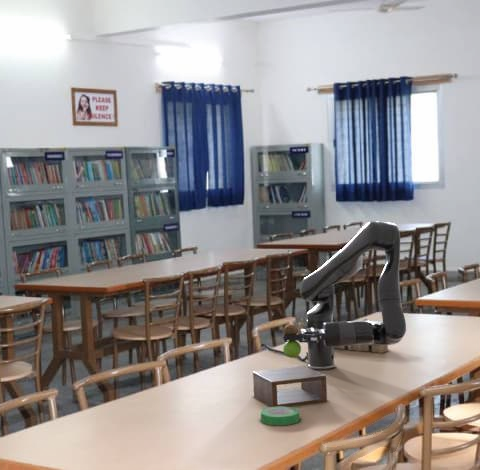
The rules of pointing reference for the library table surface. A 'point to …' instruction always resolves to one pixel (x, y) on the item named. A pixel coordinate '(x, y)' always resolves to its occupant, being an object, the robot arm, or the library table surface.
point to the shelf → (307, 394)
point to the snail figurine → (292, 347)
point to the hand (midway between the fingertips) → (283, 336)
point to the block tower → (365, 347)
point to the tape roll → (280, 415)
